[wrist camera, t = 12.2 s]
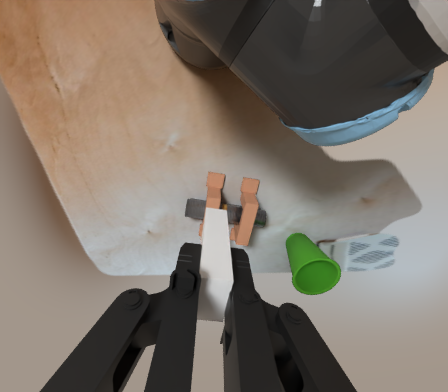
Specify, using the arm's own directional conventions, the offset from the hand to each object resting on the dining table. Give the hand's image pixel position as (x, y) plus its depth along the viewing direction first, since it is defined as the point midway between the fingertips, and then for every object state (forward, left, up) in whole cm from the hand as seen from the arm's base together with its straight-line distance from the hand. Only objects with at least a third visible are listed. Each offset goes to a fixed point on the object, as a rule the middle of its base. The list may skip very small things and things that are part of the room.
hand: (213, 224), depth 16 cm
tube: (+12, +4, -26) cm, 29 cm away
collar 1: (+12, +1, -26) cm, 29 cm away
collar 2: (+12, +8, -26) cm, 30 cm away
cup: (+18, +22, -27) cm, 39 cm away
